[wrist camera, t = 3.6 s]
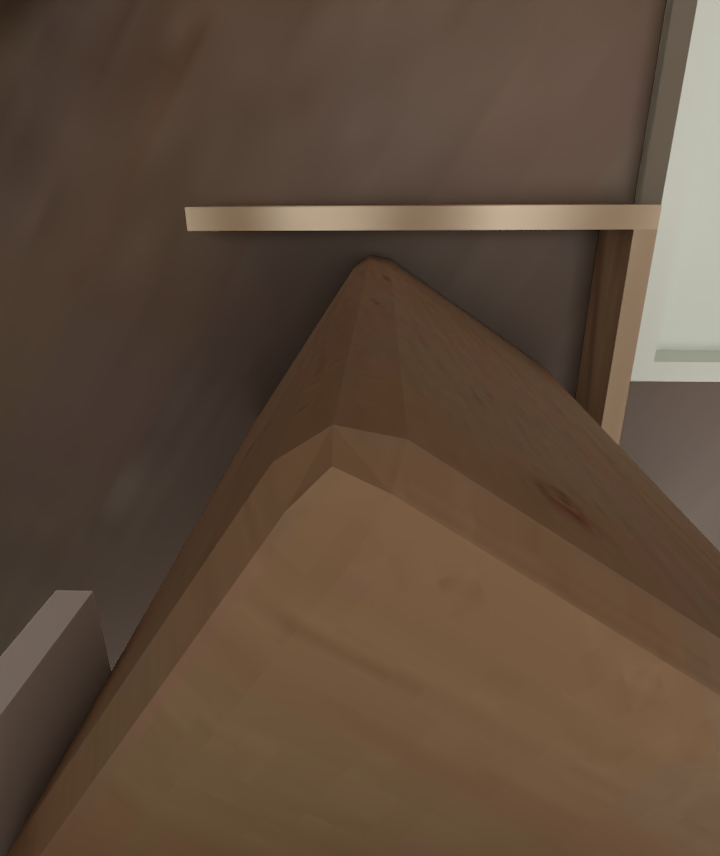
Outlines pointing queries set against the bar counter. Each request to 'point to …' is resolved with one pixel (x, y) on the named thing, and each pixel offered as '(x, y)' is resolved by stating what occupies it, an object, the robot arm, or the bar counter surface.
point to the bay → (617, 223)
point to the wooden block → (412, 626)
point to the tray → (683, 200)
